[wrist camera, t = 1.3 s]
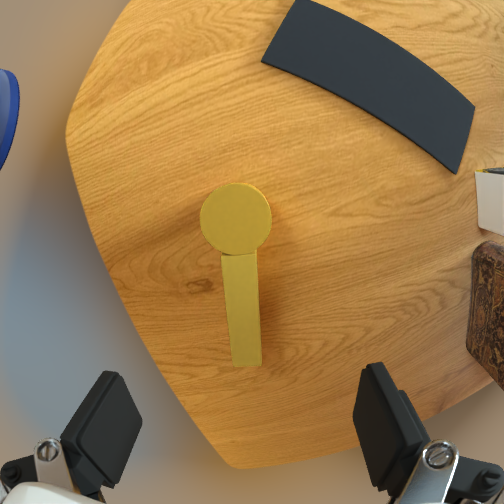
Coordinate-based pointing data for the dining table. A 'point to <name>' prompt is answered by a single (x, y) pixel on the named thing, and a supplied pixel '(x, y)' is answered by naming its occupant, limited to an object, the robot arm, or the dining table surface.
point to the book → (487, 309)
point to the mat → (373, 77)
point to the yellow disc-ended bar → (239, 261)
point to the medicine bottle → (490, 199)
